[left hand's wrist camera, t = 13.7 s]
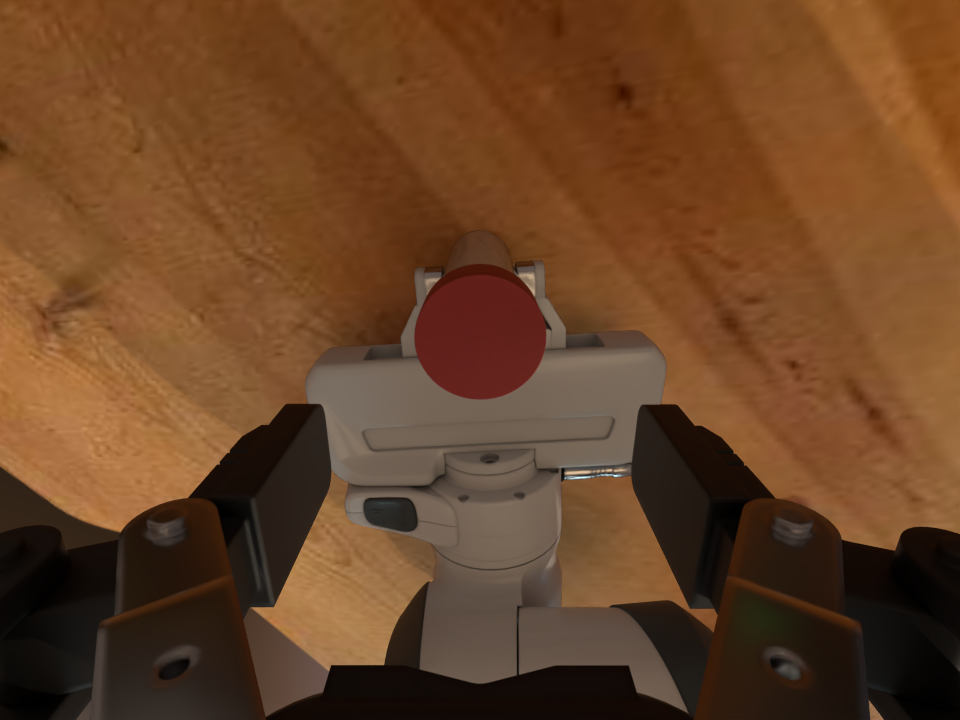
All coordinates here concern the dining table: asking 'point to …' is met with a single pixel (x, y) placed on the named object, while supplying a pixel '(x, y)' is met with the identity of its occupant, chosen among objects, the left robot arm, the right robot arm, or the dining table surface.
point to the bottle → (479, 252)
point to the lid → (480, 332)
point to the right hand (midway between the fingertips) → (478, 265)
